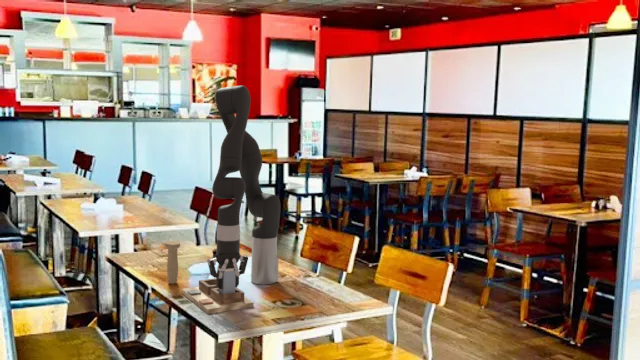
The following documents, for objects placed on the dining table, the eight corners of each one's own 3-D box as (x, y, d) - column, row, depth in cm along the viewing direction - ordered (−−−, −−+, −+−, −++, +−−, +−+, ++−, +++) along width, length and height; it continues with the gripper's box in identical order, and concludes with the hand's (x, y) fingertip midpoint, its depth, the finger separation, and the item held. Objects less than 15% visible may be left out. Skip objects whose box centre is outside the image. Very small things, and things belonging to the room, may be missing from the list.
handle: (169, 286, 234) (170, 245, 232) (162, 281, 239) (162, 241, 237) (182, 284, 237) (182, 243, 235) (175, 279, 242) (175, 240, 240)
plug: (230, 296, 219) (230, 265, 218) (235, 300, 216) (235, 268, 215) (219, 298, 217) (219, 266, 216) (223, 301, 214) (224, 269, 212)
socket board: (224, 287, 235) (224, 275, 234) (253, 306, 215) (253, 293, 214) (181, 293, 227) (182, 280, 226) (207, 313, 206) (207, 300, 206)
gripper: (243, 233, 221) (242, 282, 223) (203, 237, 213) (202, 287, 216) (253, 238, 214) (252, 288, 217) (212, 241, 207) (211, 293, 209)
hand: (227, 287), depth 216 cm, fingers open, 4 cm apart
